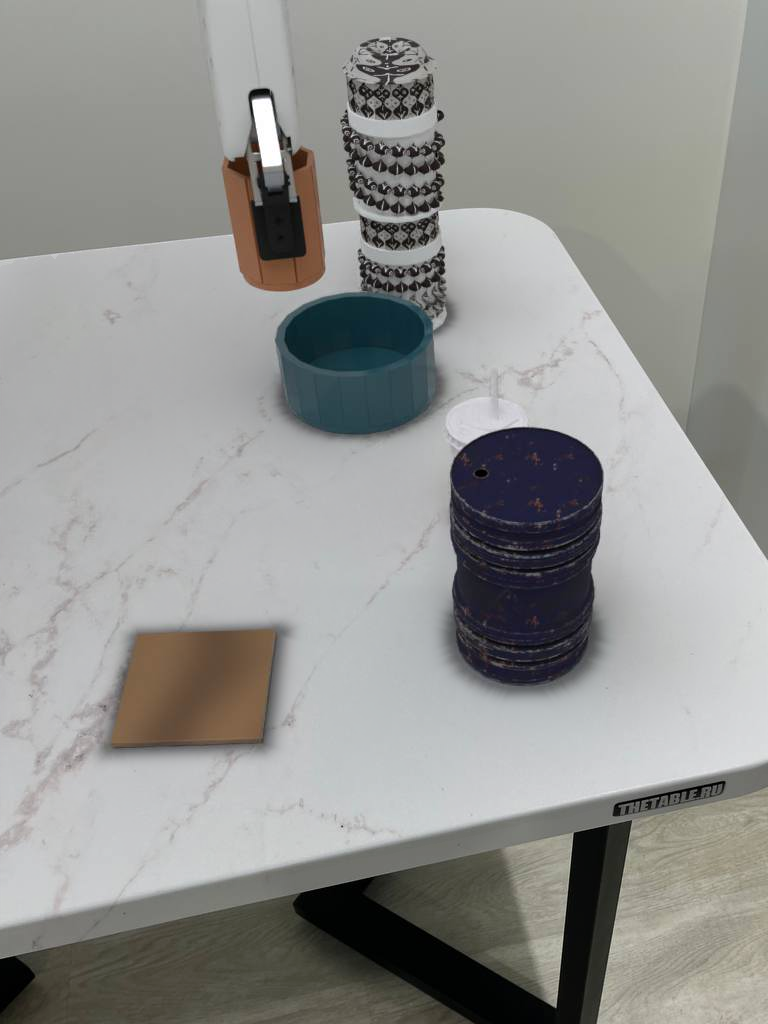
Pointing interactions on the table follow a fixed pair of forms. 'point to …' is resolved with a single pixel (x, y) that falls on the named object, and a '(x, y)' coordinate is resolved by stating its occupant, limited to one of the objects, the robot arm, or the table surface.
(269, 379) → the table surface
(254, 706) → the trivet
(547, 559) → the navy ridged cylinder
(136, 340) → the table surface
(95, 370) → the table surface
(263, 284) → the small pot
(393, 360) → the big pot
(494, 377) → the smoothie
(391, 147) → the decorative candle
